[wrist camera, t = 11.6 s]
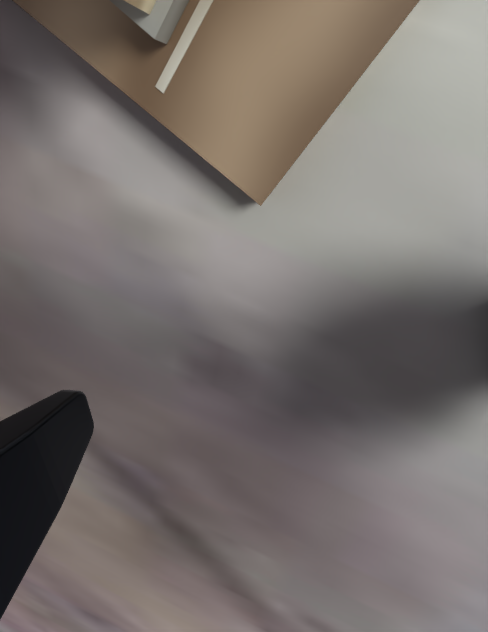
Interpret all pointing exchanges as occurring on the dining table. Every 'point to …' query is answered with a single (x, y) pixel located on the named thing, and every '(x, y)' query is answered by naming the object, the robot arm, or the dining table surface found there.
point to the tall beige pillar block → (154, 15)
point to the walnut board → (234, 71)
